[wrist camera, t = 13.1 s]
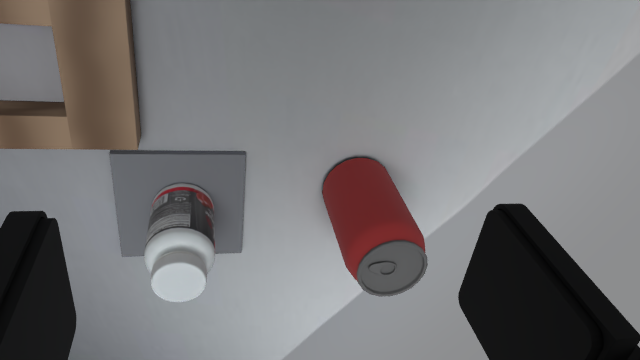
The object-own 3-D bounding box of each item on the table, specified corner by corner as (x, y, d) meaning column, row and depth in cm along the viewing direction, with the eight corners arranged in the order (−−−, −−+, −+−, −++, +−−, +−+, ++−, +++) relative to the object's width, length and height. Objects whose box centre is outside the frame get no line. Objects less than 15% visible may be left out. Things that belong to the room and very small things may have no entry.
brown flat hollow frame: (128, -20, 35) (123, -11, 33) (141, 134, 41) (137, 149, 39) (-143, -41, 32) (-168, -33, 30) (-84, 131, 38) (-101, 147, 36)
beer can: (332, 149, 46) (367, 232, 36) (398, 160, 48) (448, 242, 38) (312, 207, 49) (339, 299, 39) (374, 216, 51) (415, 304, 41)
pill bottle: (221, 220, 47) (225, 298, 39) (165, 236, 47) (156, 317, 39) (202, 173, 44) (201, 247, 36) (141, 190, 44) (127, 268, 36)
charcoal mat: (245, 151, 44) (245, 155, 44) (241, 248, 50) (241, 252, 49) (110, 150, 42) (109, 154, 41) (122, 252, 47) (121, 256, 47)
